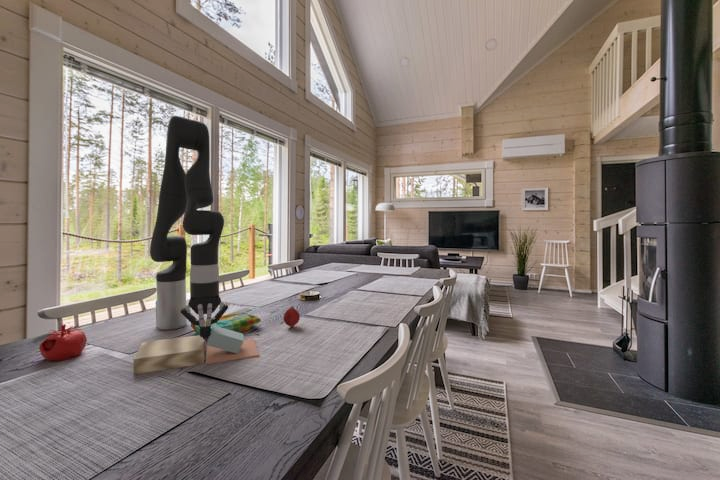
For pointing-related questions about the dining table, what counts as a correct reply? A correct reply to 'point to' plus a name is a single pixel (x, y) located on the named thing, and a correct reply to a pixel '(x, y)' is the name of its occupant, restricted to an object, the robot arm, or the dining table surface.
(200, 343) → the birch deck
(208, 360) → the tan flat square slab
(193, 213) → the robot arm
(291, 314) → the onion
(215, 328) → the pale teal block
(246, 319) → the puzzle game
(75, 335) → the red tomato
